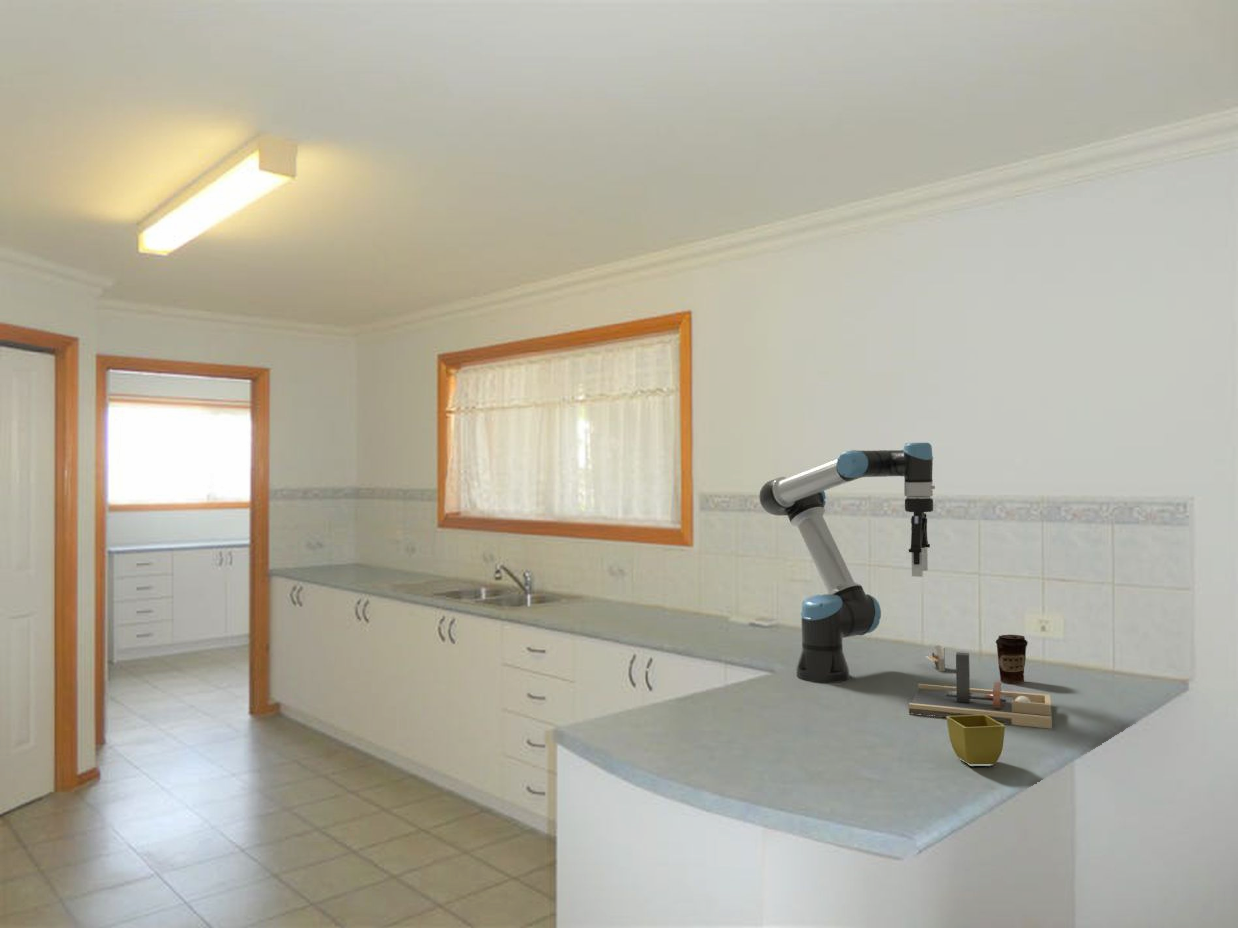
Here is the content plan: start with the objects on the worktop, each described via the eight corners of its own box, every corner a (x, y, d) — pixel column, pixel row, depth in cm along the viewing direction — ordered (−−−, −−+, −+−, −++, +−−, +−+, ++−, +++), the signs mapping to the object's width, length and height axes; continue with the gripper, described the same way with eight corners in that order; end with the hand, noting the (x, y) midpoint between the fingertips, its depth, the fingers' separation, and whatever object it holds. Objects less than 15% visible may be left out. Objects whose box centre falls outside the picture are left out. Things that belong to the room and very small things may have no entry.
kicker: (945, 703, 222) (944, 656, 222) (948, 694, 230) (947, 649, 230) (1005, 709, 216) (1004, 660, 216) (1006, 700, 224) (1005, 653, 224)
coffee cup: (1032, 686, 244) (1031, 639, 244) (1000, 685, 246) (999, 638, 246) (1024, 678, 253) (1023, 633, 253) (993, 677, 255) (992, 632, 255)
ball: (1033, 701, 216) (1029, 716, 216) (1033, 697, 219) (1029, 712, 220) (1016, 695, 217) (1012, 710, 218) (1016, 691, 221) (1012, 706, 221)
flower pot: (946, 757, 187) (945, 715, 187) (985, 755, 188) (984, 713, 188) (965, 771, 178) (965, 727, 178) (1006, 769, 179) (1006, 725, 179)
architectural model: (933, 672, 263) (933, 647, 263) (925, 667, 270) (925, 643, 270) (945, 672, 263) (944, 647, 263) (936, 667, 270) (936, 643, 270)
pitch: (909, 714, 219) (908, 698, 219) (918, 692, 239) (918, 678, 239) (1051, 728, 206) (1051, 711, 206) (1049, 704, 226) (1049, 689, 226)
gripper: (928, 499, 233) (929, 579, 233) (937, 495, 255) (938, 568, 255) (898, 499, 236) (900, 578, 236) (910, 495, 259) (911, 567, 259)
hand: (919, 573), depth 246 cm, fingers open, 13 cm apart
